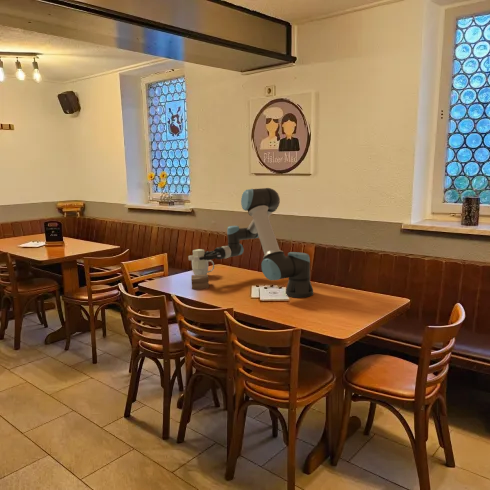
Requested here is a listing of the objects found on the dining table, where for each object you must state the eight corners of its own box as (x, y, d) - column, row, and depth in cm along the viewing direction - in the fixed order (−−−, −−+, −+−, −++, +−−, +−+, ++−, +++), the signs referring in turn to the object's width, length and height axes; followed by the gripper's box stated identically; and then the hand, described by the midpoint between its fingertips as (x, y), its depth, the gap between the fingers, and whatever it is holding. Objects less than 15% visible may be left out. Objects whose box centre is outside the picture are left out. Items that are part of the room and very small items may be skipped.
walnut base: (208, 288, 258) (208, 278, 257) (192, 289, 257) (191, 279, 256) (208, 283, 268) (207, 274, 267) (191, 284, 267) (191, 275, 266)
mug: (213, 273, 295) (212, 254, 293) (216, 276, 284) (215, 257, 282) (191, 275, 292) (190, 256, 290) (193, 278, 281) (192, 259, 279)
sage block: (205, 267, 260) (204, 249, 258) (198, 269, 257) (197, 251, 255) (200, 266, 264) (199, 248, 262) (193, 268, 261) (192, 250, 259)
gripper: (231, 260, 265) (200, 267, 250) (213, 256, 278) (183, 262, 263) (231, 248, 264) (200, 254, 249) (213, 245, 277) (182, 250, 262)
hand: (191, 258), depth 256 cm, fingers closed on sage block, 5 cm apart
